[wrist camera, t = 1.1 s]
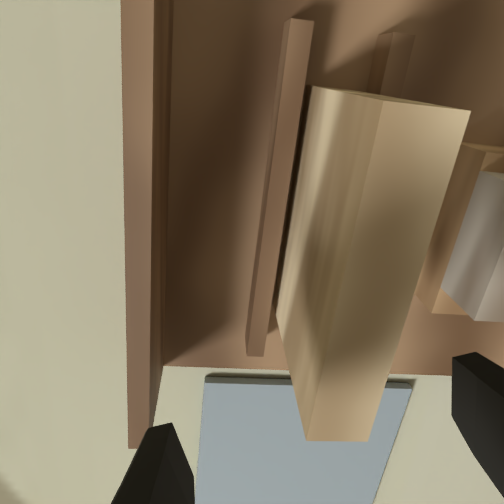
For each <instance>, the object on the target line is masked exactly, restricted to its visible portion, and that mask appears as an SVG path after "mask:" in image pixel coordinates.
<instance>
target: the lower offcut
mask: <svg viewBox="0 0 504 504" xmlns="http://www.w3.org/2000/svg"><path fill="white" fill-rule="evenodd" d="M480 171H487V172H497V173H504V146H496V145H486V144H477V143H468V142H461V145H460V148H459V152H458V155H457V158H456V161H455V164H454V168H453V171H452V174H451V177H450V180H449V183H448V187H447V190H446V193H445V196H444V199H443V203H442V206H441V209H440V212H439V215H438V219H437V222H436V225H435V228H434V231H433V235H432V238H431V241H430V244H429V247H428V251H427V254H426V257H425V260H424V263H423V267H422V270H421V273H420V276H419V279H418V283H417V286H416V289H415V292H414V294H415V295H416V296H417V297H418V298H419V300H420V301H421V302H422V303H423V304H424V305H425V306H426V308H427V309H428V310H429V311H430V312H431V313H436V314H455V315H468V314H467V313H466V312H465V311H464V310H463V309H462V308H461V307H460V306H459V305H458V304H457V303H456V302H455V301H454V300H453V299H452V298H451V297H450V296H449V295H448V294H447V293H446V292H445V291H444V290H443V289H442V288H441V284H442V281H443V278H444V275H445V272H446V269H447V266H448V263H449V260H450V257H451V254H452V252H453V249H454V246H455V243H456V240H457V237H458V234H459V231H460V228H461V225H462V222H463V219H464V216H465V213H466V210H467V207H468V205H469V202H470V199H471V196H472V193H473V190H474V187H475V184H476V181H477V178H478V175H479V172H480Z"/></svg>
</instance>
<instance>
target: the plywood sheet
mask: <svg viewBox="0 0 504 504" xmlns="http://www.w3.org/2000/svg"><path fill="white" fill-rule="evenodd" d="M470 113H471V111H469V110H463V109H457V108H452V107H446V106H440V105H435V104H429V103H423V102H418V101H412V100H406V99H401V98H395V97H389V96H384V95H378V94H372V93H367V92H361V91H355V90H346V89H338V88H330V87H321V86H313V85H307V89H306V95H305V102H304V108H303V115H302V121H301V128H300V134H299V141H298V147H297V154H296V160H295V167H294V173H293V180H292V186H291V193H290V199H289V206H288V212H287V219H286V225H285V232H284V238H283V245H282V251H281V258H280V264H279V271H278V277H277V284H276V290H275V297H274V303H273V305H274V309H275V314H276V318H277V322H278V326H279V330H280V334H281V339H282V343H283V347H284V351H285V355H286V359H287V364H288V368H289V372H290V376H291V380H292V384H293V389H294V393H295V397H296V401H297V405H298V409H299V414H300V418H301V422H302V426H303V430H304V434H305V439H306V441H344V442H368V439H369V436H370V433H371V430H372V426H373V423H374V420H375V417H376V414H377V410H378V407H379V404H380V401H381V398H382V394H383V391H384V388H385V385H386V382H387V378H388V375H389V372H390V369H391V366H392V362H393V359H394V356H395V353H396V350H397V346H398V343H399V340H400V337H401V334H402V330H403V327H404V324H405V321H406V318H407V315H408V311H409V308H410V305H411V302H412V299H413V295H414V292H415V289H416V286H417V283H418V279H419V276H420V273H421V270H422V267H423V263H424V260H425V257H426V254H427V251H428V247H429V244H430V241H431V238H432V235H433V231H434V228H435V225H436V222H437V219H438V215H439V212H440V209H441V206H442V203H443V199H444V196H445V193H446V190H447V187H448V183H449V180H450V177H451V174H452V171H453V168H454V164H455V161H456V158H457V155H458V152H459V148H460V145H461V142H462V139H463V136H464V132H465V129H466V126H467V123H468V120H469V116H470Z"/></svg>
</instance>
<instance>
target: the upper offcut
mask: <svg viewBox="0 0 504 504" xmlns="http://www.w3.org/2000/svg"><path fill="white" fill-rule="evenodd" d="M441 288H442V289H443V290H444V291H445V292H446V293H447V294H448V295H449V296H450V297H451V298H452V299H453V300H454V301H455V302H456V303H457V304H458V305H459V306H460V307H461V308H462V309H463V310H464V311H465V312H466V313H467V314H468V315H469V316H470V317H471V318H472V319H473V320H474V321H490V322H504V173H497V172H487V171H480V172H479V175H478V178H477V181H476V184H475V187H474V190H473V193H472V196H471V199H470V202H469V205H468V207H467V210H466V213H465V216H464V219H463V222H462V225H461V228H460V231H459V234H458V237H457V240H456V243H455V246H454V249H453V252H452V254H451V257H450V260H449V263H448V266H447V269H446V272H445V275H444V278H443V281H442V284H441Z"/></svg>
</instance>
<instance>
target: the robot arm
mask: <svg viewBox="0 0 504 504" xmlns="http://www.w3.org/2000/svg"><path fill="white" fill-rule="evenodd" d="M452 417H453V419H454V421H455V423H456V425H457V426H458V428H459V430H460V432H461V434H462V436H463V437H464V439H465V441H466V443H467V444H468V446H469V448H470V450H471V451H472V453H473V455H474V456H475V458H476V459H477V461H478V462H479V463H480V465H481V466H482V468H483V469H484V471H485V472H486V473H487V475H488V476H489V478H490V479H491V481H492V482H493V483H494V485H495V486H496V488H497V489H498V490H499V492H500V493H501V495H502V496H503V497H504V368H502V367H501V366H499V365H497V364H496V363H494V362H493V361H491V360H489V359H488V358H486V357H484V356H483V355H481V354H479V353H477V352H472V353H468V354H463V355H459V356H455V357H452ZM111 504H195V496H194V476H193V473H192V471H191V468H190V466H189V463H188V461H187V458H186V456H185V453H184V451H183V448H182V446H181V444H180V441H179V439H178V436H177V434H176V431H175V429H174V426H173V424H172V423H167V424H163V425H159V426H155V427H150V428H148V429H147V431H146V432H145V434H144V436H143V438H142V440H141V443H140V445H139V447H138V449H137V451H136V453H135V456H134V458H133V460H132V462H131V464H130V466H129V468H128V470H127V472H126V475H125V477H124V479H123V481H122V483H121V485H120V487H119V489H118V491H117V493H116V495H115V497H114V499H113V500H112V502H111Z"/></svg>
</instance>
